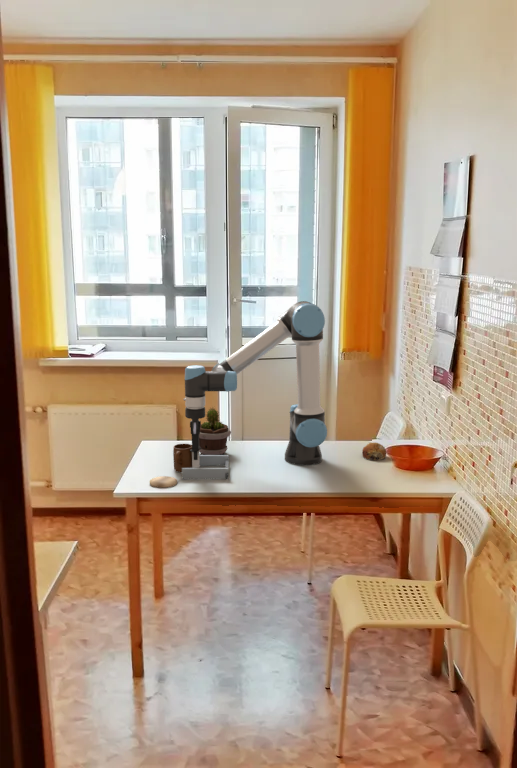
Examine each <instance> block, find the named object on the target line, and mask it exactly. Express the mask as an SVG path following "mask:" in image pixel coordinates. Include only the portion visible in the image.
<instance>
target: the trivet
mask: <svg viewBox="0 0 517 768" xmlns="http://www.w3.org/2000/svg"><path fill="white" fill-rule="evenodd" d="M177 484H178V479H177V478H176V477H173V476H165V475H163V476H155V477H153V478H151V479H150V480H149V485H150V486H151V487H154V488H157V489H167V488H172V487H174V486H177Z"/></svg>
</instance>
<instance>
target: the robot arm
mask: <svg viewBox="0 0 517 768" xmlns="http://www.w3.org/2000/svg"><path fill="white" fill-rule="evenodd" d="M325 319H326V318H325V314H324V312H323V310H322V309H321V308H320V306H318V305H316V304H314V303H312V302H309V301H306V300H304V301H303V300H302V301H298V302H296V303H294V304H293V305H291V306H290V307H289V308H288V309H287V310H286V311H285V312H283V313H282V314H281V315H280V316H278V317H277V321H276V322H274V323H273V324H272V325H270V326H269V327H267V328H266V329H264V331H262V332H261V333H259V334H258V335H257V336H255V337H254V338H253V339H251V340H250V341H249V342H247V343H246V344H244V345H242V347H241V348H240V349H237V351H235V352H234V353H232V354H231V355H230V356H228V357H227V358H226V359H225V360H223V361H222V362H220V363H218V364H217V363H216V364H215V365H214V366H213V367H212V369H211V371H209V370H207V371H206V367H205V366H203V365H196V364H195V365H187V366H186V367H185V369H184V397H183V401H185V402H184V406H185V407H184V408H185V409H184V416H185V417H186V418H187V419H190V421H189V428H190V435H191V445H192V450H190V452H192V468H200V466H199V455H200V452H199V450H201V447H199V446H200V444H199V434H200V426H201V424H202V422H201V420H202V419H204V418H205V417H206V415H205V414H206V392H226V393H228V392H229V393H230V392H235V391H237V389H238V375H239V374H240V373H242V372H243V371H244V370H246V369H247V368H249V367H250V366H251V365H253V364H254V363H255V362H256V361H258V360H259V359H260V358H262V357H263V356H265V355H266V354H267V353H268V352H270V351H272V350H273V349H274V348H275V347H277V346H278V345H280V344H281V343H283V342H284V341H285V340H286V339H288V338H291V341H292V342H293V343H294V344H295V349H296V351H295V352H296V353H295V354H296V355H295V356H296V357H295V358H296V381H297V382H296V384H297V385H296V387H297V388H296V390H297V394H296V395H297V403H296V404H292V405H291V406H290V409H289V440H288V444H287V447H286V449H285V451H284V460H285V462H287V463H289V464H292V465H298V466H311V465H317V464H320V463H321V462H322V461H323V455H322V451H321V448H320V447H321V446H320V445H322V444H323V443H324V442H325V441H326V439H327V436H328V429H327V425H326V419H325V417H326V416H325V413H326V411H325V409H324V408H323V407H322V406H321V376H320V375H321V373H320V372H321V371H320V343H321V342H322V341H323V340H324V327H325V323H326V320H325ZM186 418H185V419H186ZM200 419H201V420H200Z"/></svg>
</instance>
